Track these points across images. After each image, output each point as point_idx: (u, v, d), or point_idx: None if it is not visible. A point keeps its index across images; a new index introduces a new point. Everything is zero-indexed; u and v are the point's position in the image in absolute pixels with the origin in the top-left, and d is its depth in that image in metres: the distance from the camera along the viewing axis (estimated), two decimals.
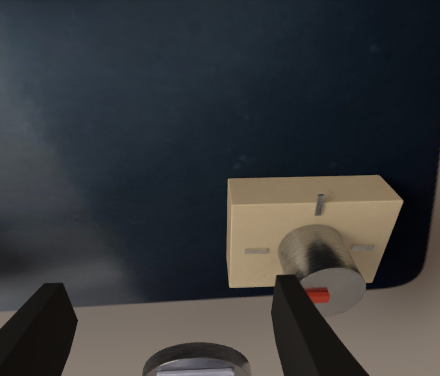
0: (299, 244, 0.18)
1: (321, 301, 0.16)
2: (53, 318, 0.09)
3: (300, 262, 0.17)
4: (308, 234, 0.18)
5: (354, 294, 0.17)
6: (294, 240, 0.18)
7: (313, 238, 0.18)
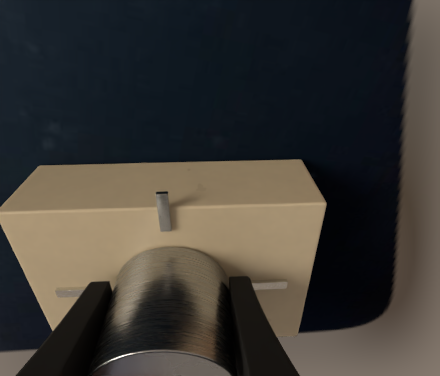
0: (124, 288, 0.09)
1: None
2: (103, 316, 0.10)
3: (108, 328, 0.08)
4: (146, 267, 0.09)
5: None
6: (124, 277, 0.10)
7: (149, 275, 0.09)
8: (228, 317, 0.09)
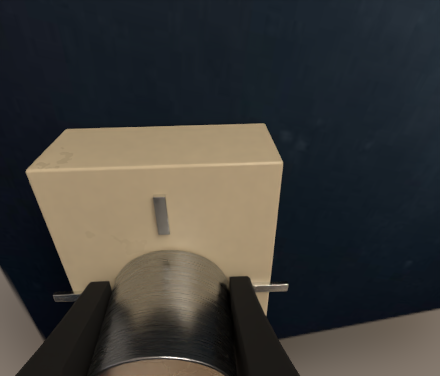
0: (122, 292, 0.09)
1: None
2: (102, 316, 0.10)
3: (106, 333, 0.08)
4: (145, 271, 0.09)
5: None
6: (123, 281, 0.10)
7: (148, 280, 0.09)
8: (228, 321, 0.09)
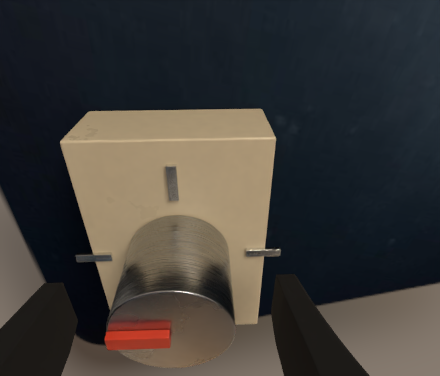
0: (138, 248, 0.11)
1: (156, 346, 0.10)
2: (53, 318, 0.09)
3: (126, 278, 0.10)
4: (158, 231, 0.11)
5: (217, 334, 0.10)
6: (138, 240, 0.11)
7: (160, 237, 0.11)
8: (228, 274, 0.11)
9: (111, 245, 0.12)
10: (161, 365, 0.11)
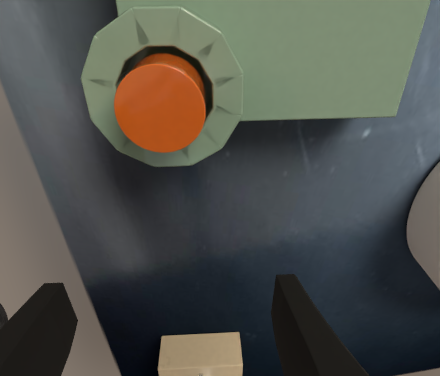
0: None
1: None
2: (53, 318, 0.09)
3: None
4: None
5: None
6: None
7: None
8: None
9: None
10: None
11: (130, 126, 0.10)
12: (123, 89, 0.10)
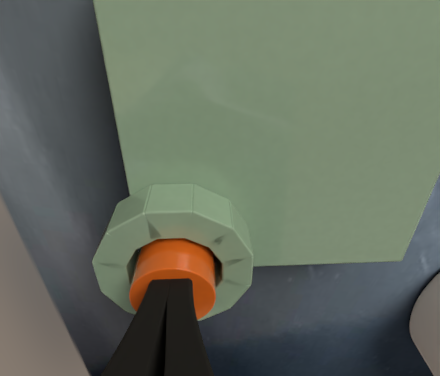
0: None
1: None
2: None
3: None
4: None
5: None
6: None
7: None
8: None
9: None
10: None
11: None
12: (138, 285, 0.10)
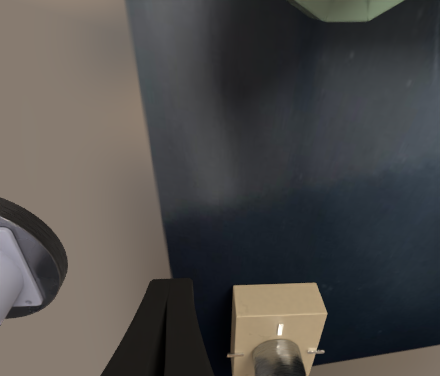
0: (265, 358, 0.24)
1: None
2: None
3: (265, 375, 0.23)
4: (273, 349, 0.24)
5: None
6: (263, 352, 0.25)
7: (275, 354, 0.24)
8: (304, 369, 0.24)
9: (244, 349, 0.26)
10: None
11: None
12: None
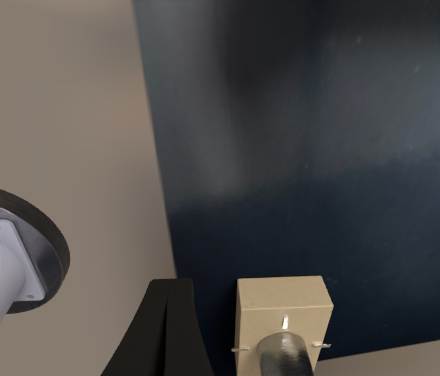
0: (271, 352, 0.24)
1: None
2: None
3: (271, 368, 0.23)
4: (278, 343, 0.24)
5: None
6: (268, 346, 0.24)
7: (281, 347, 0.24)
8: (310, 363, 0.24)
9: (249, 343, 0.26)
10: None
11: None
12: None
